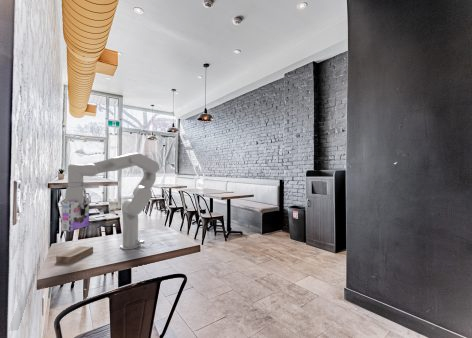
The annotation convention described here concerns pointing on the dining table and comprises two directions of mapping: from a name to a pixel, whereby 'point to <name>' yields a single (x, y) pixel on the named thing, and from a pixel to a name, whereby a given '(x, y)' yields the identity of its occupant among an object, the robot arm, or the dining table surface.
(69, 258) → the walnut plinth
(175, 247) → the dining table surface
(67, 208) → the candy box
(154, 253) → the dining table surface
